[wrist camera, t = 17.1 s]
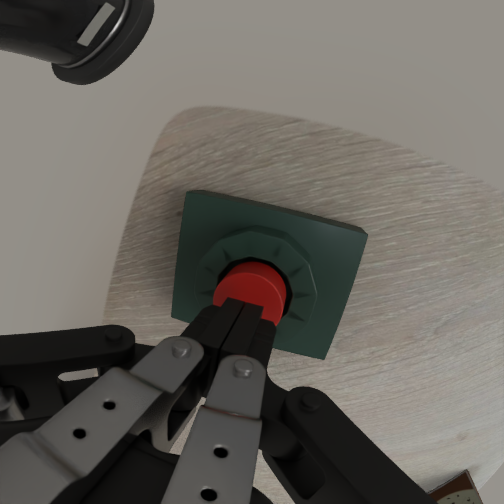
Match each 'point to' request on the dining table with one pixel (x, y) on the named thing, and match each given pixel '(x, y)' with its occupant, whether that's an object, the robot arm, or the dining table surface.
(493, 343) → the dining table surface
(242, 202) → the control block
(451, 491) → the cake slice
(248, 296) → the button
